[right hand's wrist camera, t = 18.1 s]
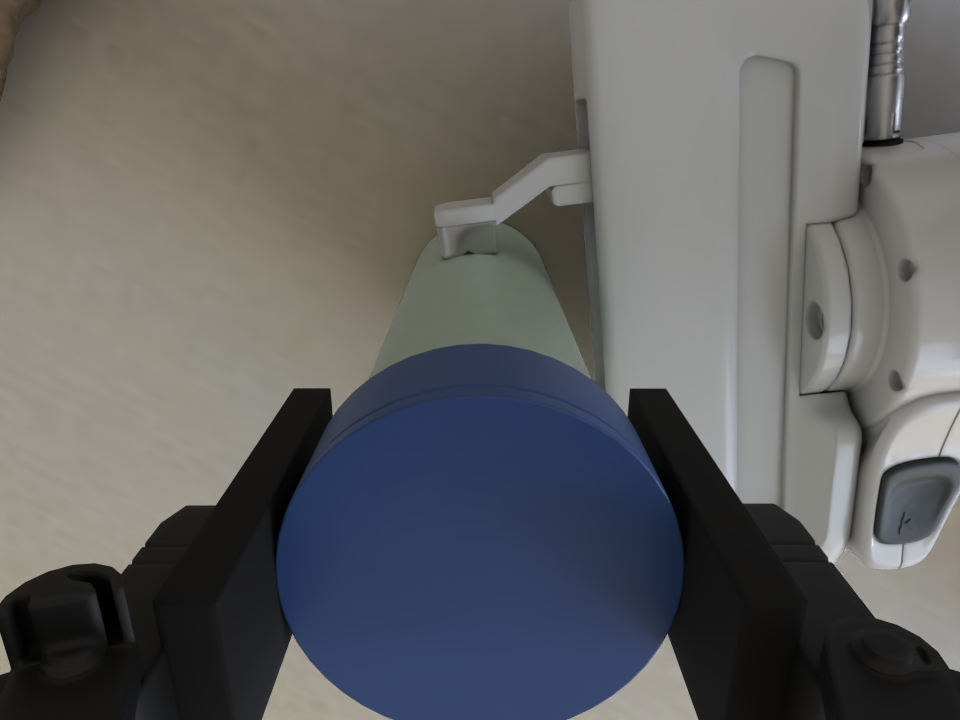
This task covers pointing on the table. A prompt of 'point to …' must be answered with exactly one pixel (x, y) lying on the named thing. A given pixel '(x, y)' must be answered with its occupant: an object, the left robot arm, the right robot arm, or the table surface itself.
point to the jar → (481, 304)
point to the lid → (480, 542)
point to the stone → (11, 29)
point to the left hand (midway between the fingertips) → (452, 336)
